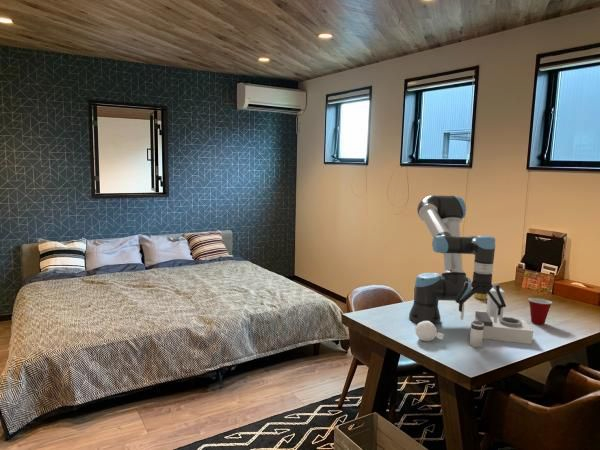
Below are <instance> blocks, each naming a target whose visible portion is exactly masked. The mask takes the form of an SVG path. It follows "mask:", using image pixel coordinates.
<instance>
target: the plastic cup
mask: <svg viewBox="0 0 600 450" xmlns="http://www.w3.org/2000/svg"><path fill="white" fill-rule="evenodd" d="M527 301H528V302H529V309H530V310H529V313H530V321H531V323H532V324H534V325H539V326H542V325H545V323H546V319H547V317H548V314H549V311H550V308H551V305H552V304H553V301H551V300H547V299H543V298H534V297H533V298H531V297H529V298H528V299H527Z"/></svg>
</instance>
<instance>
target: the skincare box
mask: <svg viewBox="0 0 600 450" xmlns="http://www.w3.org/2000/svg"><path fill="white" fill-rule="evenodd" d="M490 292H491V294H492V295H493V296H494V298H495V299H496V300H497V301H498V303H499V304H501V302H500V299H499V297H498V295H497V292H496V290H494V288H492V289H491V290H490ZM500 293H501V295H502V297H503V300H504V301H505V294H506V293H505V291H504V290H503V289H502V288H500ZM486 301H487V303H486V312H487V314H488V315H489V317H494V313H495V307H497V305H496V304H495V302H494V301H493V300H492V298H491V297H490V296H489V295H488V294H487V300H486ZM501 317H504V307H502V308H501V313H500V315H498V318H501Z"/></svg>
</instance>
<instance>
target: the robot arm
mask: <svg viewBox="0 0 600 450" xmlns="http://www.w3.org/2000/svg"><path fill="white" fill-rule="evenodd" d="M416 209H417V211H416V212H417V216H418V217H419V218H420V220H421V221H423V222H424V224H425V226H426V228H427V229H428V231H429V232H430V235H431V236H432V243H431V246H432V250H433V252H435V254H436V253H438V254H443V269H444V270H443V272H441V274H440V273H437V272H423V273H420V274H418V275H416V277H415V282H414V294H413V295H414V298H413V303H412V306H411V309H410V312H409V314H408V319H409V320H410V321H412V322H413V323H416V324H418V323H420V322H422V321H430V322H431V323H433V324H434V326H435V325H439V324H440V323H441V314H440V309H439V301H451V302H452V301H453V302H455V304H458V311H459V312H460V320H461V321H464V315H465V303H466V302H467V301H468V300H469V299H470V298H471V297H472V296H474V294H475V293H477V294H487V293H488V294H487V296H488V295H489V296H490V297H491V298H492V300H493V301H494V302H495V304H496V305H497V307H495V313H494V322H495V323H497V318H498V315H500V313H501V308H502V307H503V308H506V307H507V304H506V302H505V299H504V300H503V297H502V295H501V293H500V285H499V284H498V283H496V284H493V283H492V281H493V272H494V271H493V270H494V260H495V253H496V252H495V251H496V238H495V237H494V236H490V235H483V234H481V235H477V236H476V235H469V236H461V232H460V231H461V230H460V224H461V222H462V221H463V219H464V218H465V217H466V214H467V213H466V212H467V207H466V203H465V200H464V199H463V198H462V196H461V197H460V196H457V195H435V194H432V195H431V194H430V195H428V196H426V197H424V198H422V199H420V201H419V202H418V205H417V208H416ZM463 254H464V255H465V254H466V255H473V256H474V262H473V273H472V281H471V278H470V277H467V272H466V271H465V270H463V257H462V255H463ZM492 288H494V290H496V292H497V295H498V297H499V299H500V302H501V304H499V303H498V301H497V300H496V299H495V298H494V296H493V295H492V294H491V292H490V290H491V289H492Z"/></svg>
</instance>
